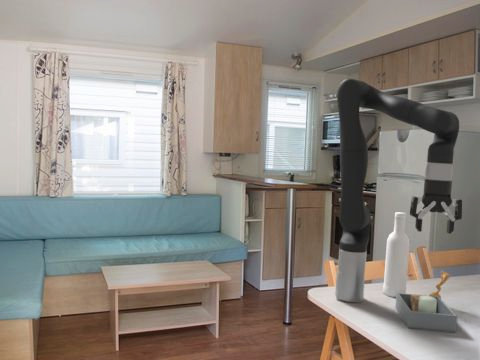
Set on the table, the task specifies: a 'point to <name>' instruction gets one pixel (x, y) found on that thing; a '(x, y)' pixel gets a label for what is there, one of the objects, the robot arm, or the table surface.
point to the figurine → (440, 284)
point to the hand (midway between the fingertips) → (433, 232)
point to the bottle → (396, 258)
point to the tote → (426, 315)
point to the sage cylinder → (427, 304)
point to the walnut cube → (415, 302)
